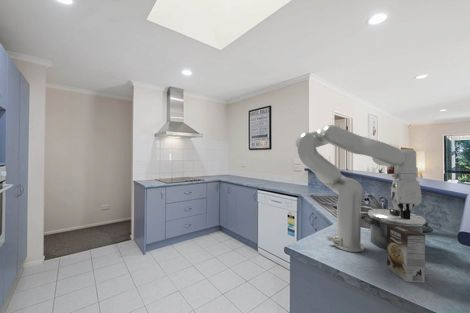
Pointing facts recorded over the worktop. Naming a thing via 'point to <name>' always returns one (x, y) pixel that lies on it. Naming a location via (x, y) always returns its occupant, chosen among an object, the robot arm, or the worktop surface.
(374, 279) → the worktop surface
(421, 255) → the coffee box
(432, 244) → the worktop surface
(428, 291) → the worktop surface
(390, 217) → the lid
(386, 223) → the pot
